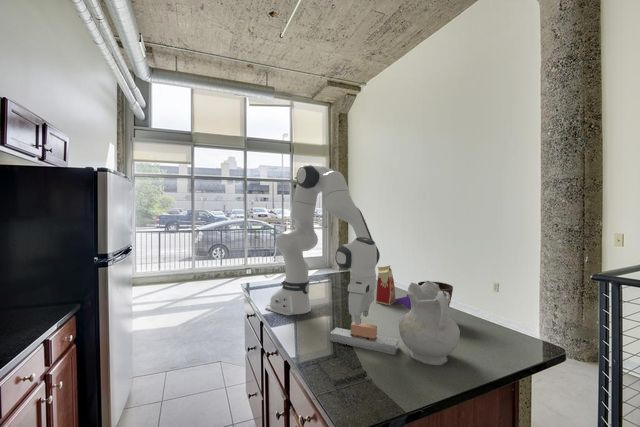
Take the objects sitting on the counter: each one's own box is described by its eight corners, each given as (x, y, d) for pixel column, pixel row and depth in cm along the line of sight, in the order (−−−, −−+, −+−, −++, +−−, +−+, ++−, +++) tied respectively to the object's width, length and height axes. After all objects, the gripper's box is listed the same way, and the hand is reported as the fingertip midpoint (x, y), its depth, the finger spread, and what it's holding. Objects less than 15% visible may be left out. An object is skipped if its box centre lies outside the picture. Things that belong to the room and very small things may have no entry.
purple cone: (420, 307, 154) (420, 294, 154) (409, 308, 152) (409, 295, 151) (406, 300, 165) (406, 288, 165) (395, 301, 163) (396, 289, 163)
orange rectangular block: (350, 343, 110) (350, 324, 110) (353, 340, 113) (353, 321, 113) (374, 348, 106) (375, 328, 106) (376, 345, 109) (377, 325, 109)
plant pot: (415, 313, 144) (416, 280, 144) (448, 316, 141) (449, 282, 141) (419, 324, 129) (419, 287, 129) (456, 328, 126) (456, 290, 126)
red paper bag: (395, 301, 163) (396, 264, 163) (390, 305, 155) (390, 267, 155) (379, 298, 168) (380, 262, 167) (373, 302, 160) (374, 265, 160)
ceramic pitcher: (477, 375, 92) (484, 294, 93) (423, 379, 87) (430, 293, 87) (432, 344, 113) (437, 278, 113) (386, 346, 107) (392, 277, 108)
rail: (329, 341, 112) (330, 333, 112) (335, 335, 117) (335, 327, 117) (395, 354, 102) (395, 346, 102) (398, 347, 107) (398, 339, 107)
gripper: (363, 275, 120) (361, 309, 120) (345, 287, 102) (344, 328, 102) (378, 277, 117) (377, 312, 118) (363, 290, 99) (362, 331, 99)
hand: (361, 320), depth 110 cm, fingers open, 8 cm apart
